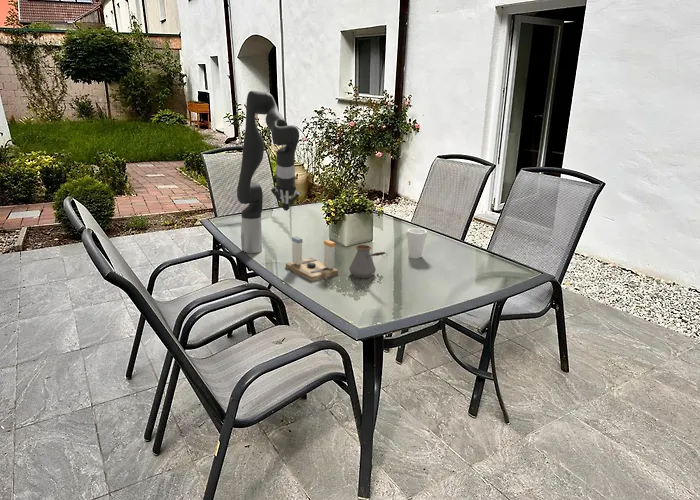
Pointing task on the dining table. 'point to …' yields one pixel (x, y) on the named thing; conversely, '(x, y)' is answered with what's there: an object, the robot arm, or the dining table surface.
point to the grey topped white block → (297, 250)
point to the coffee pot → (363, 262)
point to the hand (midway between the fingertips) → (286, 209)
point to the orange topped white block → (329, 254)
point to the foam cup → (416, 242)
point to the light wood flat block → (312, 269)
